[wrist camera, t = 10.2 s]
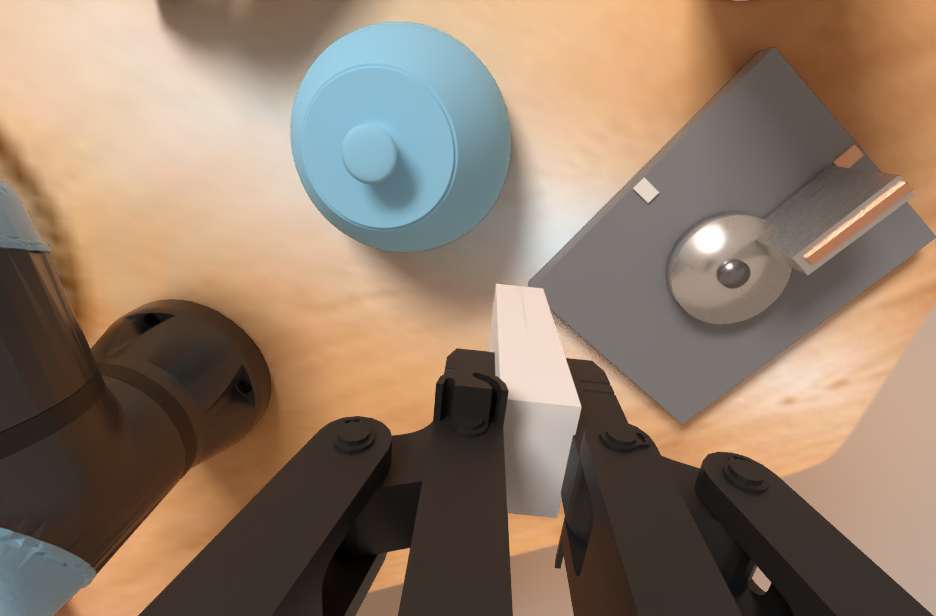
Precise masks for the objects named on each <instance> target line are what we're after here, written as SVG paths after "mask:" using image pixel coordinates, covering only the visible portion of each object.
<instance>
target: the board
mask: <svg viewBox="0 0 936 616" xmlns="http://www.w3.org/2000/svg"><path fill="white" fill-rule="evenodd" d="M829 165H831V166H838V167H845V168H852V169H859V170H866V171H873V172H880V173H882V172H881V171H880V170H879V169H878V168H877V166H876V165H875V164H874V163H873V162H872V161H871V159H870V158H869V157H868V156H867V155H866V153H865V152H864V151H863V150H862V149H861V148H860V146H859V145H858V144H857V143H856V142H855V141H854V139H853V138H852V137H851V136H850V135H849V134H848V132H847V131H846V130H845V129H844V128H843V126H842V125H841V124H840V123H839V122H838V121H837V119H836V118H835V117H834V116H833V115H832V114H831V112H830V111H829V110H828V109H827V108H826V107H825V105H824V104H823V103H822V102H821V101H820V99H819V98H818V97H817V96H816V95H815V94H814V92H813V91H812V90H811V89H810V88H809V87H808V85H807V84H806V83H805V82H804V81H803V80H802V78H801V77H800V76H799V75H798V74H797V73H796V71H795V70H794V69H793V68H792V67H791V65H790V64H789V63H788V62H787V61H786V60H785V58H784V57H783V56H782V55H781V54H780V53H779V51H778V50H777V49H776V48H775V47H773V48H769V49H765V50H762V51H759V52H758V53H757V54H756V55H755V56H754V57H753V58H752V59H751V60H750V61H749V62H748V63H747V64H746V65H745V66H744V67H743V68H742V69H741V70H740V71H739V72H738V73H737V74H736V75H735V76H734V77H733V78H732V79H731V80H730V81H729V82H728V83H727V84H726V85H725V86H724V87H723V88H722V89H721V90H720V91H719V92H718V93H717V94H716V95H715V96H714V97H713V98H712V99H711V100H710V101H709V102H708V103H707V104H706V105H705V106H704V107H703V108H702V109H701V110H700V111H699V112H698V113H697V114H696V115H695V116H694V117H693V118H692V119H691V120H690V121H689V122H688V123H687V124H686V125H685V126H684V127H683V128H682V129H681V130H680V131H679V132H678V133H677V134H676V135H675V136H674V137H673V138H672V139H671V140H670V141H669V142H668V143H667V144H666V145H665V146H664V147H663V148H662V149H661V150H660V151H659V152H658V153H657V154H656V155H655V156H654V157H653V158H652V159H651V160H650V161H649V162H648V163H647V164H646V165H645V166H644V167H643V168H642V169H641V170H640V171H639V172H638V173H637V174H636V175H635V176H634V177H633V178H632V179H631V180H630V181H629V182H628V183H627V184H626V185H625V186H624V187H623V188H622V189H621V190H620V191H619V192H618V193H617V194H616V195H615V196H614V197H613V198H612V199H611V200H610V201H609V202H608V203H607V204H606V205H605V206H604V207H603V208H602V209H601V210H600V211H599V212H598V213H597V214H596V215H595V216H594V217H593V218H592V219H591V220H590V221H589V222H588V223H587V224H586V225H585V226H584V227H583V228H582V229H581V230H580V231H579V232H578V233H577V234H576V235H575V236H574V237H573V238H572V239H571V240H570V241H569V242H568V243H567V244H566V245H565V246H564V247H563V248H562V249H561V250H560V251H559V252H558V253H557V254H556V255H555V256H554V257H553V258H552V259H551V260H550V261H549V262H548V263H547V264H546V265H545V266H544V267H543V268H542V269H541V270H540V271H539V272H538V273H537V274H536V275H535V276H534V277H533V278H532V279H531V280H530V281H529V282H528V286H529V287H534V288H543V290H544V293H545V296H546V299H547V302H548V305H549V308H550V309H551V310H552V311H553V312H554V313H555V314H556V315H557V316H558V317H560V318H561V319H562V320H563V321H564V322H565V323H566V324H568V325H569V326H570V327H571V328H572V329H573V330H574V331H576V332H577V333H578V334H579V335H580V336H581V337H582V338H584V339H585V340H586V341H587V342H588V343H589V344H590V345H592V346H593V347H594V348H595V349H596V350H597V351H598V352H600V353H601V354H602V355H603V356H604V357H605V358H606V359H608V360H609V361H610V362H611V363H612V364H613V365H614V366H615V367H617V368H618V369H619V370H620V371H621V372H622V373H623V374H625V375H626V376H627V377H628V378H629V379H630V380H631V381H633V382H634V383H635V384H636V385H637V386H638V387H639V388H641V389H642V390H643V391H644V392H645V393H646V394H647V395H649V396H650V397H651V398H652V399H653V400H654V401H655V402H657V403H658V404H659V405H660V406H661V407H662V408H663V409H665V410H666V411H667V412H668V413H669V414H670V415H671V416H673V417H674V418H675V419H676V420H677V421H678V422H679V423H680V424H682V425H683V424H684V423H685V422H687V421H688V420H689V419H691V418H692V417H693V416H695V415H696V414H698V413H699V412H700V411H702V410H703V409H704V408H706V407H707V406H708V405H710V404H711V403H712V402H714V401H715V400H717V399H718V398H719V397H721V396H722V395H723V394H725V393H726V392H727V391H729V390H730V389H731V388H733V387H734V386H736V385H737V384H738V383H740V382H741V381H742V380H744V379H745V378H746V377H748V376H749V375H750V374H752V373H753V372H755V371H756V370H757V369H759V368H760V367H761V366H763V365H764V364H765V363H767V362H768V361H769V360H771V359H772V358H774V357H775V356H776V355H778V354H779V353H780V352H782V351H783V350H784V349H786V348H787V347H788V346H790V345H791V344H793V343H794V342H795V341H797V340H798V339H799V338H801V337H802V336H803V335H805V334H806V333H807V332H809V331H810V330H812V329H813V328H814V327H816V326H817V325H818V324H820V323H821V322H822V321H824V320H825V319H826V318H828V317H829V316H831V315H832V314H833V313H835V312H836V311H837V310H839V309H840V308H841V307H843V306H844V305H845V304H847V303H848V302H850V301H851V300H852V299H854V298H855V297H856V296H858V295H859V294H860V293H862V292H863V291H864V290H866V289H867V288H869V287H870V286H871V285H873V284H874V283H875V282H877V281H878V280H879V279H881V278H882V277H883V276H885V275H886V274H888V273H889V272H890V271H892V270H893V269H894V268H896V267H897V266H898V265H900V264H901V263H902V262H904V261H905V260H907V259H908V258H909V257H911V256H912V255H913V254H915V253H916V252H917V251H919V250H920V249H921V248H923V247H924V246H926V245H927V244H928V243H930V242H931V241H932V240H934V239H935V238H936V236H935V234H934V233H933V232H932V231H931V230H930V229H929V227H928V226H927V225H926V224H925V223H924V222H923V220H922V219H921V218H920V217H919V216H918V214H917V213H916V212H915V211H914V210H913V209H912V207H911V206H910V205H909V204H908V203H907V202H906V203H904V204H903V205H902V206H900V207H899V208H898V209H896V210H895V211H894V212H892V213H891V214H890V215H888V216H887V217H886V218H884V219H883V220H881V221H880V222H879V223H877V224H876V225H875V226H873V227H872V228H871V229H869V230H868V231H867V232H865V233H864V234H863V235H861V236H860V237H859V238H857V239H856V240H855V241H853V242H852V243H851V244H849V245H848V246H847V247H845V248H844V249H843V250H841V251H840V252H839V253H837V254H836V255H835V256H833V257H832V258H831V259H829V260H828V261H827V262H825V263H824V264H823V265H821V266H820V267H819V268H817V269H816V270H815V271H813V272H812V273H811V274H809V275H806V274H804V273H802V272H800V271H799V270H797V269H795V268H793V267H792V270H791V274H790V278H789V280H788V282H787V285H786V287H785V288H784V290H783V292H782V293H781V294H780V296H779V297H778V298H777V299H776V300H775V301H774V302H773V303H772V304H771V305H770V306H769V307H768V308H766V309H765V310H764V311H762V312H761V313H759V314H757V315H755V316H754V317H752V318H749V319H747V320H744V321H740V322H737V323H731V324H713V323H707V322H704V321H701V320H699V319H697V318H695V317H693V316H691V315H690V314H689V313H687V312H686V311H685V310H684V309H683V308H682V307H681V306H680V304H679V303H678V302H677V301H676V300H675V299H674V298H673V296H672V294H671V293H670V290H669V288H668V285H667V281H666V265H667V260H668V257H669V254H670V252H671V250H672V248H673V246H674V244H675V243H676V241H677V240H678V239H679V237H680V236H681V235H682V234H683V233H684V232H685V231H686V230H687V229H688V228H690V227H691V226H692V225H693V224H695V223H697V222H698V221H700V220H702V219H704V218H706V217H708V216H711V215H714V214H718V213H723V212H743V213H748V214H751V215H754V216H756V217H759V218H761V219H765V218H766V217H767V216H768V215H770V214H771V213H772V212H773V211H775V210H776V209H777V208H778V207H779V206H781V205H782V204H783V203H784V202H785V201H787V200H788V199H789V198H790V197H792V196H793V195H794V194H795V193H796V192H798V191H799V190H800V189H801V188H803V187H804V186H805V185H806V184H807V183H809V182H810V181H811V180H812V179H814V178H815V177H816V176H817V175H818V174H820V173H821V172H822V171H823V170H825V169H826V168H827V167H828V166H829Z"/></svg>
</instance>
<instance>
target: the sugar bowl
mask: <svg viewBox="0 0 936 616" xmlns="http://www.w3.org/2000/svg"><path fill="white" fill-rule="evenodd" d="M291 145H292V153H293V157H294V161H295V165H296V169H297V172H298V174H299V177H300V180H301V182H302V184H303V186H304V188H305V190H306V192H307V194H308V196H309V197H310V199H311V200H312V202H313V203H314V205H315V206H316V208H317V209H318V210H319V211H320V212H321V213H322V215H323V216H324V217H325V218H326V219H327V220H328V221H329V222H330V223H331V224H333V225H334V226H335V227H336V228H337V229H339V230H340V231H342V232H343V233H344V234H346V235H348V236H349V237H351V238H353V239H355V240H356V241H358V242H361V243H363V244H365V245H368V246H370V247H374V248H377V249H381V250H386V251H392V252H416V251H425V250H429V249H433V248H437V247H440V246H442V245H445V244H448V243H450V242H452V241H454V240H456V239H458V238H459V237H461V236H463V235H464V234H466V233H467V232H469V231H470V230H471V229H473V228H474V227H475V226H476V225H477V224H478V223H479V222H480V221H481V220H482V219H483V218H484V217H485V216H486V214H487V213H488V212H489V211H490V209H491V208H492V206H493V205H494V203H495V201H496V200H497V198H498V196H499V194H500V192H501V189H502V187H503V185H504V182H505V179H506V176H507V172H508V169H509V163H510V157H511V130H510V122H509V117H508V113H507V108H506V105H505V102H504V99H503V97H502V94H501V92H500V90H499V88H498V86H497V84H496V82H495V80H494V78H493V77H492V75H491V74H490V72H489V71H488V69H487V68H486V66H485V65H484V64H483V63H482V62H481V60H480V59H479V58H478V57H477V56H476V55H475V54H474V53H473V52H472V51H471V50H470V49H468V48H467V47H466V46H465V45H464V44H463V43H461V42H460V41H458V40H457V39H455V38H454V37H452V36H451V35H449V34H447V33H444V32H442V31H440V30H438V29H436V28H433V27H429V26H426V25H423V24H417V23H411V22H385V23H379V24H373V25H369V26H366V27H363V28H360V29H357V30H355V31H353V32H351V33H349V34H347V35H345V36H343V37H341V38H340V39H338V40H337V41H335V42H334V43H333V44H331V45H330V46H329V47H327V48H326V49H325V50H324V51H323V52H322V53H321V54H320V55H319V56H318V57H317V59H316V60H315V61H314V63H313V64H312V65H311V67H310V68H309V69H308V71H307V73H306V75H305V77H304V79H303V80H302V82H301V84H300V87H299V90H298V92H297V95H296V98H295V102H294V106H293V110H292V117H291Z"/></svg>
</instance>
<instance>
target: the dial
mask: <svg viewBox="0 0 936 616" xmlns="http://www.w3.org/2000/svg"><path fill="white" fill-rule="evenodd" d="M912 190H913V189H912V188H911V187H910V185H909V184H908V183H907V182H904V181H903V180H902V178H901V177H900V176H899V175H894V174H887V173H880V172H873V171H866V170H859V169H852V168H845V167H838V166H831V165H829V166H828V167H827V168H826V169H825V170H823V171H822V172H821V173H820V174H818V175H817V176H816V177H815V178H814V179H812V180H811V181H810V182H809V183H807V184H806V185H805V186H804V187H803V188H801V189H800V190H799V191H798V192H796V193H795V194H794V195H793V196H792V197H790V198H789V199H788V200H787V201H785V202H784V203H783V204H782V205H781V206H779V207H778V208H777V209H776V210H775V211H773V212H772V213H771V214H770V215H768V216H767V217H766V218H765V219H761V218H759V217H756V216H754V215H751V214H748V213H743V212H723V213H718V214H714V215H711V216H708V217H706V218H704V219H702V220H700V221H698V222H697V223H695V224H693V225H692V226H691V227H690V228H688V229H687V230H686V231H685V232H684V233H683V234H682V235H681V236H680V237H679V239H678V240H677V241H676V243H675V244H674V246H673V248H672V250H671V252H670V254H669V257H668V260H667V265H666V281H667V285H668V288H669V290H670V293H671V294H672V296H673V298H674V299H675V300H676V301H677V302H678V303H679V304H680V306H681V307H682V308H683V309H684V310H685V311H686V312H687V313H689V314H690V315H691V316H693V317H695V318H697V319H699V320H701V321H704V322H707V323H713V324H731V323H737V322H740V321H744V320H747V319H749V318H752V317H754V316H755V315H757V314H759V313H761V312H762V311H764V310H765V309H766V308H768V307H769V306H770V305H771V304H772V303H773V302H774V301H775V300H776V299H777V298H778V297H779V296H780V294H781V293H782V292H783V290H784V288H785V287H786V285H787V282H788V280H789V278H790V274H791V270H792V267H793V268H795V269H797V270H799V271H800V272H802V273H804V274H806V275H809V274H811V273H812V272H813V271H815V270H816V269H817V268H819V267H820V266H821V265H823V264H824V263H825V262H827V261H828V260H829V259H831V258H832V257H833V256H835V255H836V254H837V253H839V252H840V251H841V250H843V249H844V248H845V247H847V246H848V245H849V244H851V243H852V242H853V241H855V240H856V239H857V238H859V237H860V236H861V235H863V234H864V233H865V232H867V231H868V230H869V229H871V228H872V227H873V226H875V225H876V224H877V223H879V222H880V221H881V220H883V219H884V218H886V217H887V216H888V215H890V214H891V213H892V212H894V211H895V210H896V209H898V208H899V207H900V206H902V205H903V204H904V203H906V202H907V201H908V200H910V199H911V198H912V197H914V196H915V195H914V194H913V192H912Z"/></svg>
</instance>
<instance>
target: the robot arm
mask: <svg viewBox="0 0 936 616" xmlns="http://www.w3.org/2000/svg"><path fill="white" fill-rule="evenodd" d="M50 252H51V249H50V247H49V245H48V244H46V243H44V242H43V240H42V238H41V236H40V234H39V233H38V231H37V229H36V227H35V225H34V223H33V221H32V219H31V217H30V215H29V214H28V212H27V210H26V208H25V206H24V204H23V202H22V200H21V198H20V196H19V195H18V194H17V192H16V191H15V190H14V189H13V188H12V187H11V186H10V185H8V184H7V183H6V182H4V181H3V180H1V179H0V616H54V615H55V614H56V613H57V612H58V611H59V610H60V609H61V608H62V607H63V606H64V605H65V604H66V603H67V602H68V601H69V600H70V599H71V598H72V597H73V596H74V595H75V594H76V593H77V592H78V591H79V590H80V589H81V588H84V587H86V586H87V585H89V584H90V583H91V582H92V580H93V579H94V578H95V575H96V574H97V573H98V572H99V571H100V570H101V569H102V567H103V566H104V565H105V564H106V563H107V562H108V561H109V560H110V558H111V557H112V556H113V555H114V554H115V553H116V552H117V551H118V549H119V548H120V547H121V546H122V545H123V544H124V543H125V542H126V540H127V539H128V538H129V537H130V536H131V535H132V534H133V532H134V531H135V530H136V529H137V528H138V527H139V526H140V525H141V523H142V522H143V521H144V520H145V519H146V518H147V517H148V516H149V514H150V513H151V512H152V511H153V510H154V509H155V508H156V507H157V505H158V504H159V503H160V502H161V501H162V500H163V499H164V497H165V496H166V495H167V494H168V493H169V492H170V491H171V490H172V488H173V487H174V486H175V485H176V484H177V483H178V481H179V480H180V479H181V478H182V477H183V476H184V475H185V474H186V473H187V472H188V471H189V470H190V469H191V468H192V467H194V466H196V465H198V464H200V463H202V462H203V461H205V460H207V459H209V458H211V457H212V456H214V455H216V454H218V453H220V452H222V451H223V450H225V449H227V448H229V447H231V446H232V445H234V444H236V443H237V442H239V441H240V440H241V439H243V438H244V437H245V436H246V435H247V434H248V433H249V432H250V431H251V430H252V428H253V427H254V426H255V425H256V424H257V422H258V421H259V420H260V419H261V417H262V416H263V414H264V413H265V411H266V408H267V406H268V403H269V398H270V378H269V373H268V369H267V367H266V364H265V361H264V359H263V357H262V355H261V353H260V352H259V350H258V348H257V347H256V345H255V344H254V343H253V341H252V340H251V339H250V338H249V336H248V335H247V334H246V333H245V332H244V331H243V330H242V329H241V328H240V327H239V326H237V325H236V324H235V323H234V322H232V321H231V320H230V319H228V318H227V317H225V316H224V315H222V314H220V313H219V312H217V311H215V310H213V309H211V308H208V307H206V306H203V305H200V304H197V303H193V302H189V301H184V300H160V301H155V302H151V303H148V304H145V305H143V306H141V307H139V308H137V309H135V310H133V311H131V312H129V313H128V314H126V315H124V316H122V317H121V318H119V319H118V320H117V321H115V322H114V323H113V324H112V325H111V326H110V327H109V328H108V329H107V330H106V331H105V333H104V334H103V335H102V336H101V337H100V339H99V340H98V341H97V342H96V343H95V345H94V346H93V347H92V348H91V349H90V347H89V345H88V343H87V340H86V338H85V336H84V334H83V331H82V329H81V327H80V325H79V322H78V320H77V318H76V316H75V313H74V311H73V309H72V307H71V304H70V302H69V300H68V297H67V295H66V293H65V291H64V288H63V286H62V284H61V282H60V279H59V277H58V274H57V272H56V269H55V267H54V265H53V262H52V260H51V257H50V255H49V253H50ZM561 499H562V502H563V507H564V513H565V518H564V523H563V527H562V532H561V536H560V540H559V545H558V549H557V554H556V559H555V568H561V563H562V559H563V557H564V560H565V566H566V571H567V577H568V583H569V588H570V595H571V601H572V607H573V613H574V616H933V615H932V614H931V613H930V612H929V611H927V610H926V609H925V608H924V607H923V606H922V605H921V604H920V603H919V602H918V601H916V600H915V599H914V598H913V597H912V596H911V595H910V594H909V593H907V592H906V591H905V590H904V589H903V588H902V587H901V586H900V585H899V584H897V583H896V582H895V581H894V580H893V579H892V578H891V577H890V576H889V575H887V574H886V573H885V572H884V571H883V570H882V569H881V568H880V567H879V566H877V565H876V564H875V563H874V562H873V561H872V560H871V559H870V558H868V557H867V556H866V555H865V554H864V553H863V552H862V551H861V550H860V549H858V548H857V547H856V546H855V545H854V544H853V543H851V541H849V540H848V539H847V538H846V537H845V536H844V535H843V534H842V533H841V532H839V531H838V530H837V529H836V528H835V527H834V526H833V525H831V524H830V523H829V522H828V521H827V520H826V519H825V518H824V517H823V516H822V515H821V514H819V513H818V512H817V511H816V510H815V509H814V508H813V507H812V506H810V505H809V504H808V503H807V502H806V501H805V500H804V499H803V498H802V497H800V496H799V495H798V494H797V493H796V492H795V491H794V490H792V488H790V487H789V486H788V485H787V484H786V483H785V482H784V481H783V480H781V479H780V478H779V477H778V476H777V475H776V474H774V473H773V472H772V471H770V470H769V469H768V468H766V467H765V466H763V465H762V464H760V463H758V462H756V461H754V460H752V459H750V458H748V457H745V456H742V455H739V454H734V453H727V452H716V453H712V454H708V455H707V456H706V458H705V459H704V460H703V462H702V465H701V468H696V467H693V466H690V465H687V464H683V463H680V462H677V461H674V460H671V459H668V458H666V457H663V456H661V455H660V453H659V451H658V449H657V447H656V445H655V443H654V442H653V441H652V439H651V438H650V437H649V436H648V435H647V434H646V433H645V432H643V431H642V430H640V429H639V428H638V427H635V426H633V425H631V424H628V422H627V419H626V417H625V415H624V413H623V411H622V409H621V406H620V404H619V402H618V400H617V398H616V396H615V395H614V391H613V389H612V387H611V386H610V383H609V380H608V378H607V376H606V374H605V372H604V371H603V370H602V369H601V368H600V367H598V366H597V365H596V364H595V363H594V362H593V361H588V360H578V359H569V358H566V357H565V354H564V351H563V348H562V345H561V342H560V339H559V336H558V333H557V330H556V327H555V323H554V320H553V317H552V314H551V311H550V308H549V305H548V302H547V299H546V296H545V293H544V290H543V288H534V287H524V286H514V285H504V284H496V287H495V296H494V304H493V312H492V320H491V328H490V337H489V345H488V352H486V351H476V350H467V349H456V350H455V351H453V352H452V353H451V354H450V355H449V356H448V357H447V361H446V366H445V372H444V375H442V376H440V378H439V380H438V381H437V383H436V393H435V406H434V419H433V422H432V423H431V424H430V425H428V426H427V427H425V428H424V429H421V430H419V431H416V432H413V433H408V434H403V435H395V436H391V432H390V430H389V429H388V428H387V427H386V426H385V425H384V424H383V423H382V422H380V421H377V420H375V419H373V418H367V417H360V416H356V417H346V418H341V419H339V420H336V421H333V422H330V423H329V424H327V425H326V426H325V427H323V428H322V429H320V430H319V431H318V432H317V433H316V434H315V435H314V436H313V438H312V439H311V440H310V441H309V442H308V443H307V444H306V445H305V446H304V447H303V448H302V449H301V450H300V451H299V452H298V453H297V454H296V455H295V456H294V457H293V458H292V459H291V460H290V461H289V462H288V463H287V464H286V465H285V466H284V467H283V468H282V469H281V470H280V471H279V472H278V473H277V474H276V475H275V476H274V477H273V478H272V479H271V480H270V481H269V483H268V484H267V485H266V486H265V487H264V488H263V489H262V490H261V491H260V492H259V493H258V494H257V495H256V496H255V497H254V498H253V499H252V500H251V501H250V502H249V503H248V504H247V505H246V506H245V507H244V508H243V509H242V510H241V511H240V512H239V513H238V514H237V515H236V516H235V517H234V518H233V519H232V520H231V521H230V522H229V523H228V524H227V525H226V526H225V528H224V529H223V530H222V531H221V532H220V533H219V534H218V535H217V536H216V537H215V538H214V539H213V540H212V541H211V542H210V543H209V544H208V545H207V546H206V547H205V548H204V549H203V550H202V551H201V552H200V553H199V554H198V555H197V556H196V557H195V558H194V559H193V560H192V561H191V562H190V563H189V564H188V565H187V566H186V567H185V568H184V569H183V570H182V571H181V573H180V574H179V575H178V576H177V577H176V578H175V579H174V580H173V581H172V582H171V583H170V584H169V585H168V586H167V587H166V588H165V589H164V590H163V591H162V592H161V593H160V594H159V595H158V596H157V597H156V598H155V599H154V600H153V601H152V602H151V603H150V604H149V605H148V606H147V607H146V608H145V609H144V610H143V611H142V612H141V613H140V614H139V615H138V616H355V615H356V613H357V611H358V609H359V608H360V606H361V604H362V602H363V600H364V598H365V596H366V594H367V593H368V591H369V589H370V587H371V585H372V583H373V581H374V579H375V577H376V575H377V574H378V572H379V570H380V568H381V566H382V564H383V562H384V560H385V557H386V554H387V552H390V551H395V550H400V549H405V548H410V553H409V558H408V564H407V569H406V575H405V580H404V586H403V591H402V597H401V602H400V609H399V613H398V616H513V614H512V613H513V612H512V593H511V574H510V553H509V533H508V514H507V513H513V514H522V515H532V516H541V517H551V518H557V517H558V512H559V508H560V503H561ZM757 566H758V567H759V568H760V570H761V571H762V572H763V573H764V574H765V575H766V577H767V578H768V579H769V580H770V581H771V585H770V587H769V590H768V591H767V592H764V591H763V590H762V589H761V588H759V586H758V585H756V583H755V582H754V581H753V580H752V576H753V574H754V572H755V570H756V568H757Z"/></svg>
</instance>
